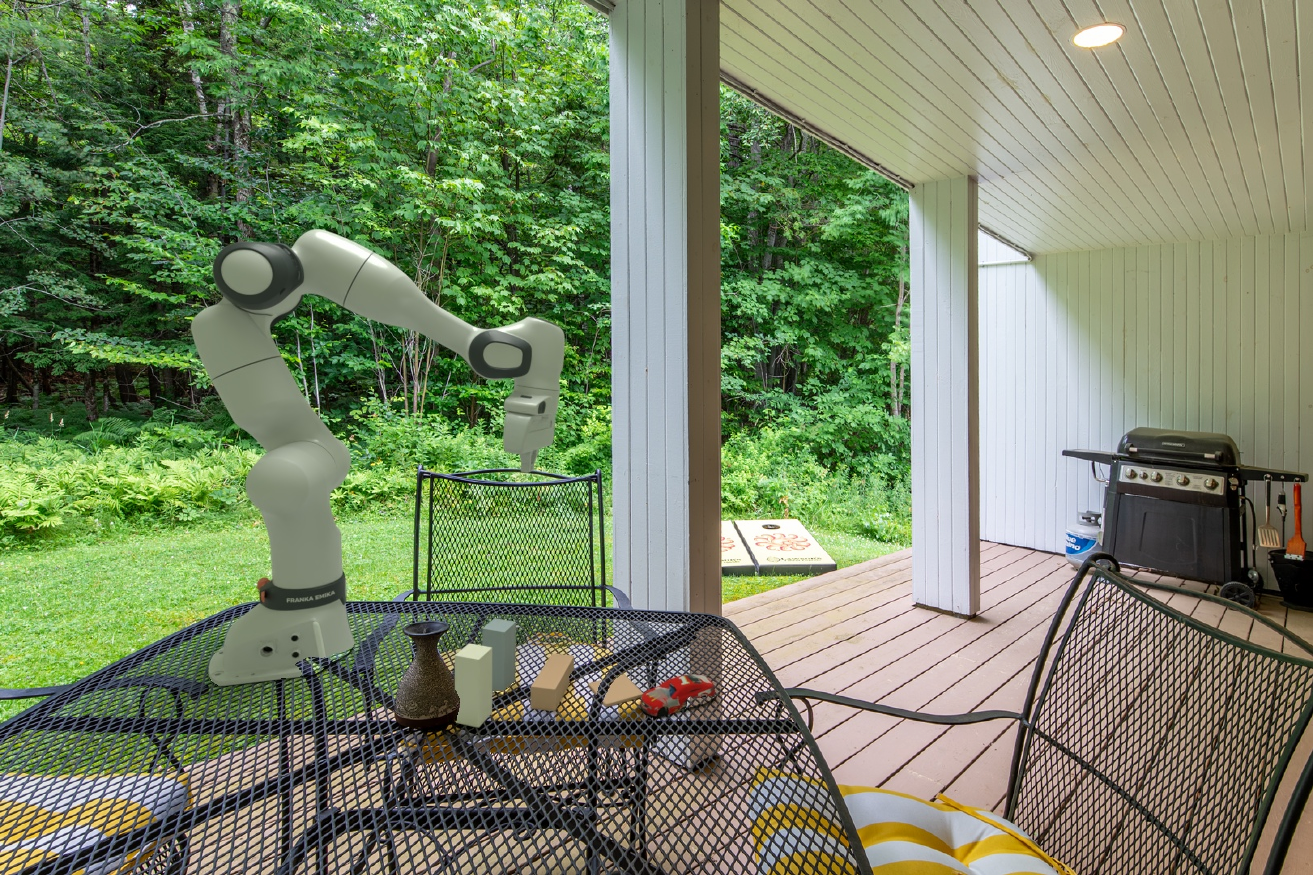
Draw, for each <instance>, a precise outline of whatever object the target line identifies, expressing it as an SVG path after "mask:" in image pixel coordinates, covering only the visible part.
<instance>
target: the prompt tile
mask: <svg viewBox="0 0 1313 875" xmlns="http://www.w3.org/2000/svg"><path fill="white" fill-rule="evenodd" d="M619 675H620V676H619ZM619 675H618V676H619V677H618V678H616V679H615V680H614V682H613V683H612V684H611V685H610V688H609V690H608V692H607V693H606V696H605V698H604V700H603V703H602V705H603V706H604V707H605V708H608V707H611V706H615V705H619V704H623V703H625V702H626V703H627V702H629V701H633V700H637V699H640V698H642V695H643V694H644V692H643V691H641V690H640V688H639V687H638V686H637V685H636V684H635V683H634V682H633V681H632V680H631V679H630V678H629V677H628V676H627V675H626V673H625V674H624V673H623V674H619ZM602 680H603V679H600V680H596V681H593V682H588V683H587V687H588V688H589V689H590V690H591V691H592V693H593V694H594V696H596V695H597V691H598V687H599V685H600V683H601V681H602Z"/></svg>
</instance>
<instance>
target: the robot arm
mask: <svg viewBox="0 0 1313 875" xmlns="http://www.w3.org/2000/svg"><path fill="white" fill-rule="evenodd" d="M212 264H213V265H212V277H213V281H214V283H215V286H216V288H217V290H218V291H219V293H220V295H222V299H221V300H220V301H219V302H218V303H217V304H214V305H211V306H208V307H206V308H203V309H202V310H201V311H200V312H199V313H197V315H195V316H194V317H193V320H192V321H191V324H190V331H191V334H192V335H191V336H192V338H193V341H194V344H195V347H196V352H197V353H198V355H199V358H200V360H201V363H202V365H203V367H204V369H205V372H206V374H207V376H208V378H209V379H210V381H211V382H212V385H213V386H214V388H215V390H216V392H217V394H218V395H219V397H220V399H221V401H222V403H223V405H224V406H225V408H226V409H227V412H228V413H229V415H230V417H231V419H232V421H233V422H234V424H235V425H236V426H237V427H239V428H240V429H241V430H244V431H245V432H247V433H248V434H249V435H250V436H252V437H253V438H254V439H255V440H256V441H257V443H258V444H259V445H260V446H261V447H262V448H263V449H264V450H265V452H266V453H265V454H263V455H262V456H260V458H259V459H258V460H257V462H255V463H254V464H253V465H252V468H250V469H249V471H248V473H247V475H246V479H245V491H246V495H247V497H248V499H249V501H250V502H251V503H252V505H253V506H255V508H257V509H258V510H260V513H261V516H262V519H263V522H264V525H265V529H266V532H267V535H268V540H269V545H270V546H269V547H270V559H271V560H270V561H271V576H272V577H271V578H272V579H269V578H268V577H261V578H259V579H258V580H257V582H256V584H257V585H256V588H257V590H258V592H259V593H258V594H259V595H258V596H259V597H258V598H259V603H258V604H257V605H256V606H254V607H252V609H250V610H249V611H247V612H246V613H244V614H243V615H242V616H241V617H239V618H238V619H237V620H236V621H235V622H233V624H231V626H230V627H229V629H228V631H227V633H226V635H225V639H224V643H223V646H222V647H221V648H220V649H218V650H217V651H216V652H215V653H214V654H213V655H212V657H211V659H210V660H209V664H208V674H209V675H208V674H207V675H208V678H209V677H210V679H211V680H212V681H213V682H214V683H215V684H217V685H218V686H219V687H226V686H233V685H242V684H251V683H259V682H269V681H274V680H275V681H277V680H282V679H281V678H286V679H293V678H300V676H301V670H299V667H297V666H295V664H296V663H297V662H299V661H303V659H305V658H308V657H319V658H324V657H329V656H331V655H333V654H336V653H340V652H344V651H346V650H348V649H349V648H352V647H353V645H354V644H355V645H356V641H355V639H354V637H353V633H352V631H351V628H350V625H349V621H348V616H347V610H346V603H347V597H348V594H347V592H348V590H347V588H348V587H347V577H346V574H345V571H344V570H343V549H342V545H343V544H342V533H341V530H340V528H339V527H338V526H337V524H336V522H335V518H334V515H333V511H332V508H331V493H332V492H333V491H334V490H336V489H337V488H339V486H341V485H342V484H343V483H344V481H345V480H346V478H347V476H348V474H349V472H350V468H351V465H352V457H351V453H350V450H349V448H348V447H347V445H345V444H344V442H342V441H341V440H340V439H338V438H337V437H335V435H334V434H333V433H332V432H331V430H330V429H329V428H328V427H327V424H325V422H323V421H322V419H321V418H320V417H319V415H318V414H317V413H316V411H314V409H313V408H312V407H311V405H310V404H309V402H308V401H307V399H306V398H305V396H304V395H303V393H302V391H301V389H300V387H299V385H298V384H297V382H296V380H295V378H294V376H293V374H292V372H291V371H290V369H289V367H288V365H287V363H286V362H285V361H286V360H284V357H283V355H282V354H281V352H280V350H279V349H278V347H277V345H276V342H275V341H274V339H273V336H272V333H271V328H272V327H275V326H276V325H277V324H279V323H280V322H281V321H282V320H284V319H285V318H287V317H288V316H290V315H291V314H293V313H294V312H295V311H297V309H298V307H300V305H301V304H302V303H303V300H304V297H305V295H307V294H308V295H309V294H311V295H312V294H313V295H317V296H318V295H319V296H320V297H323V298H326V299H328V300H330V301H332V302H334V303H335V304H337V305H339V306H341V307H343V308H345V309H346V310H348V311H350V312H352V313H354V314H356V315H359V316H361V317H364V318H366V319H369V320H372V321H374V322H378V323H381V324H384V325H388V326H394V327H399V328H403V329H407V330H409V331H414V332H417V333H419V334H421V335H423V336H424V337H427V338H428V339H431V340H433V341H434V342H436V343H438V344H440V345H442V346H444V347H445V348H447V349H449V350H450V351H452V352H454V353H456V354H458V355H459V357H461V358H462V359H463V360H464V362H465V363H466V365H467V366H468V367H469V368H470V369H471V370H472V371H473V372H474V373H475V374H477V376H479V377H481V378H484V379H486V380H489V381H490V380H491V381H501V380H503V379H512V380H514V384H513V390H512V392H511V393H510V395H509V396H507V397H506V398H505V400H504V402H503V410H504V411H506V413H505V417H504V422H503V423H504V424H503V435H502V436H503V437H502V438H503V439H502V442H503V443H502V444H503V449H504V452H505V453H509V454H514V455H519V460H520V472H521V473H525V474H528V473H531V472H533V471H534V470H535V463H536V460H537V458H538V455H539V451H540V450H539V449H543V448H546V447H547V448H548V447H549V446H552V444H553V442H554V438H555V430H556V429H555V426H556V414H558V407H559V400H560V392H561V386H560V375H561V373H562V370H563V368H564V361H565V360H564V358H565V333H564V331H563V329H562V328H561V326H560V325H558V324H557V323H554V322H553V321H550V320H547V319H545V318H541V317H538V316H534V315H533V316H531V315H530V316H527V317H524V318H523V319H522V320H519V321H517V322H514V323H511V324H508V325H503V326H499V327H493V328H481V327H477V326H474V325H472V324H470V323H468V322H466V321H465V320H463V319H461V318H459V317H458V316H456V315H454V314H452V313H451V312H448V310H445V309H444V308H442V307H440V306H438V305H437V304H436V303H435V302H433V301H432V300H431V299H429V297H427V296H426V295H425V294H424V292H422V290H421V289H420V288H419V287H418V286H417V284H416V283H415V282H414V281H413V280H412V278H410V277H409V276H408V275H407V274H406V273H405V272H403V271H402V270H401V269H400V268H398V267H397V266H396V265H394V263H392V262H390V261H389V260H388V259H386V258H385V257H383V256H381V255H380V254H378V253H376V252H375V251H372V250H371V249H369V248H367V247H365V246H363V245H361V244H359V243H358V242H355V241H353V240H351V239H349V238H346V237H345V236H344V237H343V236H341V235H339V234H336V233H333V232H331V231H328V230H325V229H319V228H315V229H314V228H313V229H310V230H307V231H306V232H304V233H303V234H301V235H300V236H299V237H298V238H297V240H296V241H295V243H294V244H293V245H292V247H290V246H289V245H288V244H285V243H284V242H283V243H281V242H263V241H250V240H249V241H248V240H247V241H238V242H234V243H231V244H229V245H227V246H225V247H223V248H222V249H220V251H219V252H218V253H217V255H216V256H215V258H214V261H213V263H212ZM210 679H209V680H210ZM215 684H214V685H215ZM217 685H216V686H217ZM218 686H217V687H218Z"/></svg>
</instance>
